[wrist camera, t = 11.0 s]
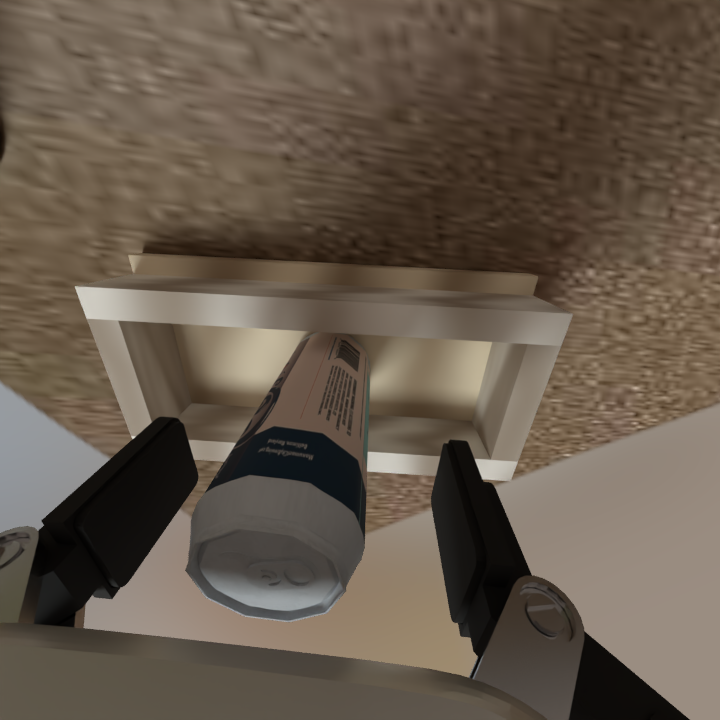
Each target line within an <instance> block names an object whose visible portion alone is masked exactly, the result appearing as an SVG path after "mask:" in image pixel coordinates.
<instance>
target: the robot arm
mask: <svg viewBox="0 0 720 720" xmlns="http://www.w3.org/2000/svg"><path fill="white" fill-rule="evenodd" d="M197 481H198V472H197V468H196V465H195V461H194V458H193V454H192V451H191V448H190V444H189V441H188V437H187V434H186V430H185V427H184V424H183V423H182V422H180V420H179V419H178V418H175V417H162V416H161V417H158V418H156V419H155V420H154V421H153V422H152V423H151V424H149V425H148V426H147V427H146V428H145V429H144V430H143V431H142V432H140V433H139V434H138V435H137V436H136V437H135V438H134V439H133V440H131V441H130V442H129V443H128V444H127V445H126V446H125V447H124V448H122V449H121V450H120V451H119V452H118V453H117V454H116V455H115V456H113V457H112V458H111V459H110V460H109V461H108V462H107V463H106V464H105V465H103V466H102V467H101V468H100V469H99V470H98V471H97V472H95V473H94V474H93V475H92V476H91V477H90V478H89V479H88V480H87V481H85V482H84V483H83V484H82V485H81V486H80V487H79V488H78V489H76V490H75V491H74V492H73V493H72V494H71V495H70V496H68V497H67V498H66V499H65V500H64V501H63V502H62V503H61V504H60V505H59V506H57V507H56V508H55V509H54V510H53V511H52V512H50V513H49V514H48V515H47V516H46V517H45V518H44V519H43V520H42V522H43V524H44V526H43V527H42V528H41V529H40V530H39V531H37V530H36V529H35V528H33V527H29V526H25V527H17V528H13V529H10V530H7V531H4V532H2V533H0V720H689V719H688V718H687V717H686V716H685V715H683V714H682V713H681V712H680V711H679V710H677V709H676V708H675V707H674V706H673V705H672V704H670V703H669V702H668V701H667V700H666V699H664V698H663V697H662V696H661V695H660V694H658V693H657V692H656V691H655V690H654V689H652V688H651V687H650V686H649V685H648V684H646V683H645V682H644V681H643V680H642V679H640V678H639V677H638V676H637V675H636V674H635V673H633V672H632V671H631V670H630V669H629V668H627V667H626V666H625V665H624V664H623V663H621V662H620V661H619V660H618V659H617V658H616V657H614V656H613V655H612V654H611V653H609V652H608V651H607V650H606V649H605V648H604V647H602V646H601V645H600V644H599V643H598V642H596V641H595V640H594V639H593V638H592V637H591V636H589V635H588V634H587V633H586V632H585V631H584V626H583V624H582V620H581V617H580V615H579V613H578V611H577V609H576V608H575V606H574V604H573V603H572V602H571V601H570V599H569V598H568V597H567V596H566V595H565V593H563V592H562V591H561V590H560V589H559V588H558V587H556V586H555V585H554V584H552V583H551V582H549V581H547V580H545V579H543V578H540V577H537V576H532V575H531V572H530V570H529V568H528V565H527V563H526V560H525V558H524V556H523V553H522V551H521V549H520V546H519V544H518V541H517V539H516V537H515V534H514V532H513V530H512V527H511V525H510V522H509V520H508V518H507V515H506V513H505V510H504V508H503V506H502V503H501V501H500V499H499V496H498V494H497V491H496V489H495V487H494V485H493V484H492V483H489V482H483V480H482V477H481V474H480V472H479V469H478V467H477V464H476V461H475V459H474V456H473V454H472V451H471V449H470V446H469V443H468V442H467V441H464V440H452V439H450V440H449V442H448V443H444V444H443V447H442V451H441V456H440V460H439V464H438V469H437V473H436V478H435V482H434V487H433V491H432V496H431V505H432V511H433V517H434V523H435V529H436V534H437V539H438V546H439V552H440V556H441V563H442V569H443V574H444V580H445V586H446V592H447V597H448V604H449V609H450V615H451V619H452V621H453V622H455V623H458V625H459V631H460V636H462V637H470V638H471V642H472V646H473V651H474V652H475V654H476V655H477V656H478V657H477V660H476V662H475V664H474V667H473V669H472V671H471V673H470V676H469V678H467V677H464V676H461V675H457V674H451V673H447V672H441V671H437V670H432V669H426V668H420V667H412V666H405V665H398V664H390V663H383V662H377V661H370V660H362V659H353V658H344V657H336V656H328V655H319V654H311V653H302V652H293V651H285V650H277V649H267V648H258V647H250V646H241V645H232V644H223V643H214V642H205V641H196V640H187V639H178V638H169V637H160V636H150V635H141V634H132V633H122V632H113V631H104V630H94V629H85V628H83V626H84V615H85V604H86V602H87V601H88V600H89V599H90V597H91V596H92V595H93V596H94V597H97V598H106V599H113V597H114V596H115V594H116V593H117V592H118V590H119V589H120V587H123V586H125V585H126V584H127V583H128V582H129V580H130V579H131V578H132V576H133V575H134V573H135V572H136V570H137V569H138V567H139V566H140V565H141V563H142V562H143V560H144V559H145V557H146V556H147V555H148V553H149V552H150V550H151V549H152V547H153V546H154V545H155V543H156V542H157V540H158V539H159V537H160V536H161V535H162V533H163V532H164V530H165V529H166V527H167V526H168V524H169V523H170V522H171V520H172V519H173V517H174V516H175V514H176V513H177V512H178V510H179V509H180V507H181V506H182V504H183V503H184V501H185V500H186V499H187V497H188V496H189V494H190V493H191V491H192V490H193V489H194V487H195V486H196V484H197Z"/></svg>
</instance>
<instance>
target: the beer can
mask: <svg viewBox="0 0 720 720" xmlns="http://www.w3.org/2000/svg"><path fill="white" fill-rule="evenodd" d="M370 372H371V370H370V361H369V358H368V354H367V352H366V351H365V349H364V348H363V346H362V345H361V344H360V343H359V342H357V341H356V340H355V339H354V338H353V337H351V336H349V335H347V334H344V333H327V332H316V333H313V334H311V335H309V336H307V337H306V338H305V339H303V340H302V341H301V342H300V343H299V344H298V346H297V347H296V349H295V351H294V353H293V354H292V356H291V357H290V359H289V361H288V362H287V364H286V365H285V367H284V368H283V370H282V372H281V373H280V375H279V376H278V378H277V380H276V381H275V383H274V384H273V386H272V387H271V389H270V391H269V392H268V394H267V395H266V397H265V398H264V400H263V402H262V403H261V405H260V406H259V408H258V410H257V411H256V413H255V414H254V416H253V417H252V419H251V421H250V422H249V424H248V425H247V427H246V429H245V430H244V432H243V433H242V435H241V436H240V438H239V440H238V441H237V443H236V444H235V446H234V447H233V449H232V451H231V452H230V454H229V455H228V457H227V459H226V460H225V462H224V463H223V465H222V466H221V468H220V470H219V471H218V473H217V474H216V476H215V478H214V479H213V481H212V482H211V484H210V485H209V487H208V489H207V490H206V492H205V493H204V495H203V496H202V497H201V499H200V500H199V501H198V503H197V505H196V507H195V510H194V512H193V515H192V519H191V536H190V550H189V561H188V565H187V568H186V572H187V573H188V574H189V576H190V577H191V578H192V580H193V581H194V583H195V584H196V585H197V587H198V588H199V589H200V591H201V592H202V593H203V595H204V596H205V597H206V598H207V599H209V600H211V601H213V602H216V603H218V604H220V605H222V606H224V607H226V608H228V609H230V610H232V611H234V612H237V613H238V614H240V615H243V616H246V617H253V618H260V619H268V620H276V621H285V622H291V621H296V620H300V619H305V618H309V617H313V616H317V615H322V614H326V613H328V611H329V610H330V609H331V608H332V607H333V606H334V604H335V603H336V602H337V601H338V599H340V597H341V596H342V595H343V594H344V593H345V592H346V586H347V584H348V582H349V580H350V578H351V576H352V574H353V573H354V571H355V569H356V567H357V565H358V564H359V562H360V561H361V558H362V555H363V551H364V548H365V546H364V544H365V515H366V487H367V458H368V429H369V400H370Z"/></svg>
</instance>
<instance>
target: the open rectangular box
mask: <svg viewBox="0 0 720 720" xmlns="http://www.w3.org/2000/svg"><path fill="white" fill-rule="evenodd" d="M128 256H129V260H130V263H131V267H132V270H133V274H131V275H126V276H121V277H117V278H112V279H107V280H102V281H98V282H93V283H88V284H83V285H79V286H75V289H76V291H77V294H78V297H79V299H80V302H81V305H82V307H83V310H84V313H85V315H86V318H87V321H88V323H89V326H90V328H91V331H92V334H93V336H94V339H95V342H96V344H97V347H98V350H99V352H100V355H101V357H102V360H103V363H104V365H105V368H106V371H107V373H108V376H109V379H110V381H111V384H112V386H113V389H114V392H115V394H116V397H117V400H118V402H119V405H120V408H121V410H122V413H123V415H124V418H125V421H126V423H127V426H128V429H129V431H130V434H131V437H132V439H134V438H135V437H136V436H137V435H138V434H139V433H140V432H142V431H143V430H144V429H145V428H146V427H147V426H148V425H149V424H151V423H152V422H153V421H154V420H155V419H156V418H158V417H161V416H162V417H175V418H178V419H179V420H180V422H182V423H183V424H184V427H185V430H186V434H187V437H188V441H189V444H190V448H191V451H192V454H193V458H194V460H209V461H224V462H225V460H226V459H227V457H228V455H229V454H230V452H231V451H232V449H233V447H234V446H235V444H236V443H237V441H238V440H239V438H240V436H241V435H242V433H243V432H244V430H245V429H246V427H247V425H248V424H249V422H250V421H251V419H252V417H253V416H254V414H255V413H256V411H257V410H258V408H259V406H260V405H261V403H262V402H263V400H264V398H265V397H266V395H267V394H268V392H269V391H270V389H271V387H272V386H273V384H274V383H275V381H276V380H277V378H278V376H279V375H280V373H281V372H282V370H283V368H284V367H285V365H286V364H287V362H288V361H289V359H290V357H291V356H292V354H293V353H294V351H295V349H296V347H297V346H298V344H299V343H300V342H301V341H302V340H303V339H305V338H306V337H307V336H309V335H311V334H313V333H316V332H327V333H344V334H347V335H349V336H351V337H353V338H354V339H355V340H356V341H357V342H359V343H360V344H361V345H362V346H363V348H364V349H365V351H366V352H367V354H368V358H369V361H370V370H371V372H370V400H369V429H368V458H367V471H371V472H386V473H400V474H415V475H430V476H436V473H437V469H438V464H439V460H440V456H441V451H442V447H443V444H444V443H448V442H449V440H450V439H452V440H464V441H467V442H468V443H469V446H470V449H471V451H472V454H473V456H474V459H475V461H476V464H477V467H478V469H479V472H480V474H481V477H482V479H488V480H503V481H511V478H512V476H513V473H514V470H515V468H516V465H517V462H518V460H519V457H520V454H521V452H522V449H523V446H524V444H525V441H526V438H527V436H528V433H529V430H530V428H531V425H532V422H533V420H534V417H535V414H536V412H537V409H538V406H539V404H540V401H541V398H542V396H543V393H544V390H545V388H546V385H547V382H548V380H549V377H550V374H551V372H552V369H553V366H554V364H555V361H556V358H557V356H558V353H559V350H560V348H561V345H562V342H563V340H564V337H565V334H566V332H567V329H568V326H569V324H570V321H571V318H572V316H573V314H572V313H570V312H568V311H566V310H564V309H561V308H559V307H557V306H555V305H553V304H550V303H548V302H546V301H544V300H542V299H539V298H537V297H535V296H533V293H534V290H535V287H536V283H537V280H538V277H539V276H536V275H533V274H530V273H511V272H492V271H473V270H454V269H435V268H416V267H396V266H377V265H358V264H339V263H320V262H301V261H282V260H263V259H244V258H225V257H205V256H186V255H167V254H148V253H139V254H131V255H128Z"/></svg>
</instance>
